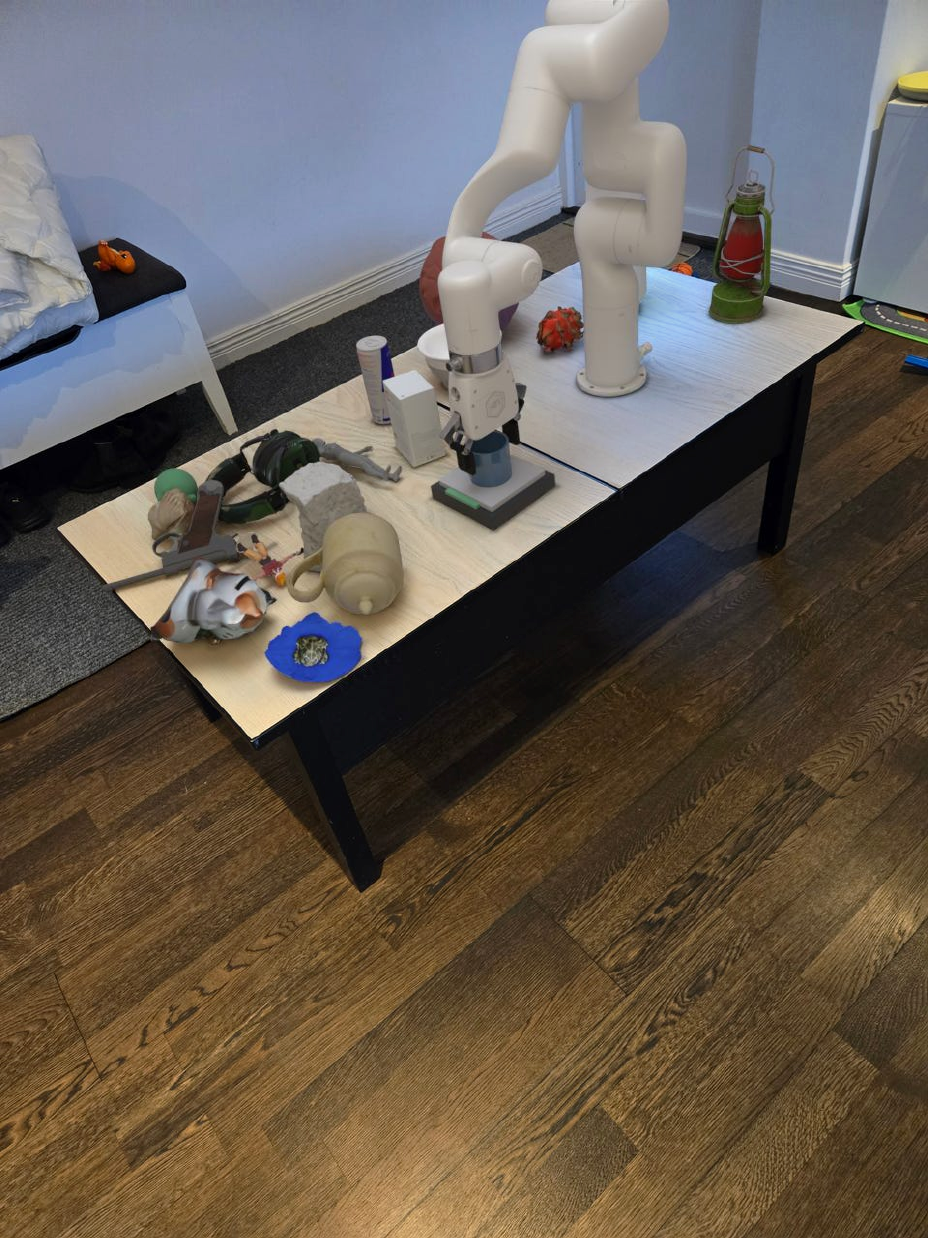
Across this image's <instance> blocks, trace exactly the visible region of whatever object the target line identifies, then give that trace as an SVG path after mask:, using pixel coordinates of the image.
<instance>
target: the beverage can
mask: <svg viewBox="0 0 928 1238" xmlns="http://www.w3.org/2000/svg"><path fill="white" fill-rule="evenodd" d="M355 345H356V346H355V347H356V353H357V358H358V362H359V366H360V370H361V374H362V379H363V384H364V388H365V392H366V396H367V400H368V405H369V409H370V413H371V418H372V420H373V421H374V422H375V423H376V424H381V425H389V424H391V420H390V415H389V410H388V406H387V401H386V396H385V392H384V387H383V381H384V380H387V379H390V378H392V377H395V376H396V375H395V371H394V370H395V369H394V366H393V362H392V356H391V350H390V348H389V347H390V346H389V344H388V340H387V338H386V337H384V336H381V335H371V336H369V335H368V336H365V337H363V338H361V339H359V340H358V341H357V342H356V344H355Z"/></svg>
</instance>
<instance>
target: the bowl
mask: <svg viewBox="0 0 928 1238" xmlns="http://www.w3.org/2000/svg"><path fill="white" fill-rule="evenodd" d="M502 335H503V333H502V332H501V330H500V336H501V337H502ZM416 346H417V350H418V352H419V353H420V354H421V355H423V356H424V358H425V362H426V364H427V366H428V368H429V370H430V371H431V372H432V374H433V375H434V376H435V377H436V378H437V379H438V380H439V381H440V382H442V385H443V387H444V388H446V389H447V390H449V371H448V370H447V368H446V363H447V362H449V360H450V358H449V352H448V345H447V339H446V333H445V327H444V323H443V324H441V325H438V326H437V325H436V326H434V327H432V328H430V329H428V330H427V331H425V332H424V333H422V335H421V336H420V337H419V338H418V341H417V344H416Z"/></svg>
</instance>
